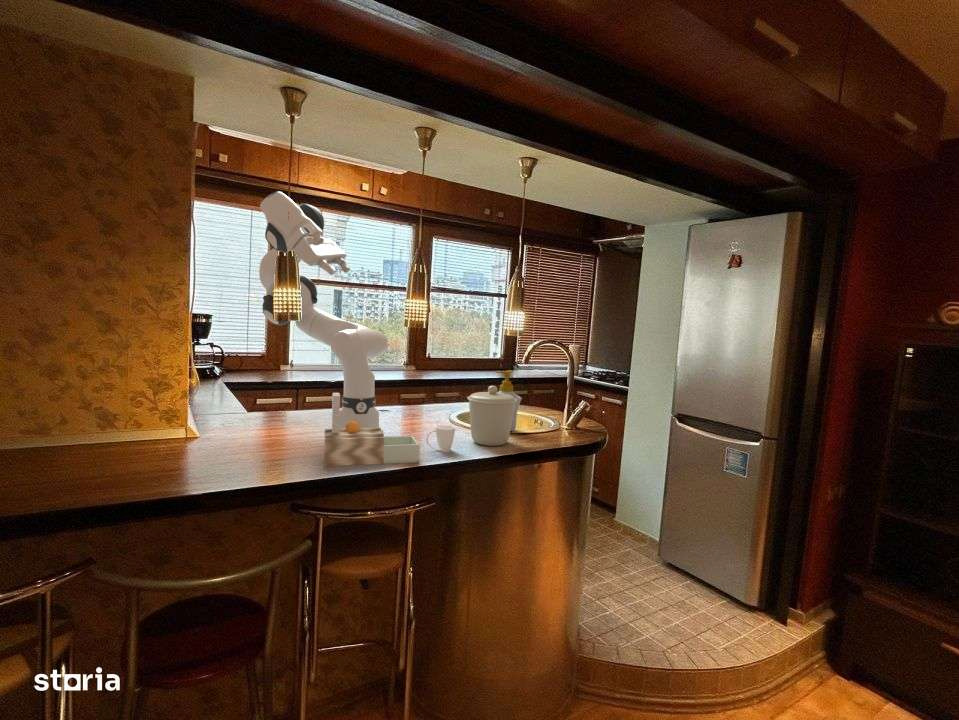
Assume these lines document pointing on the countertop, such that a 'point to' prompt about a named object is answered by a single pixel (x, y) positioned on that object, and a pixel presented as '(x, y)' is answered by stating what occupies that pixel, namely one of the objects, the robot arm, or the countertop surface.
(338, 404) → the plunger paddle
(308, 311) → the robot arm
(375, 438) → the chevron patterned box
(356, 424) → the ball
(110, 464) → the countertop surface
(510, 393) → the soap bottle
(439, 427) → the cup
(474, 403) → the canister
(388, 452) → the pale green open box
